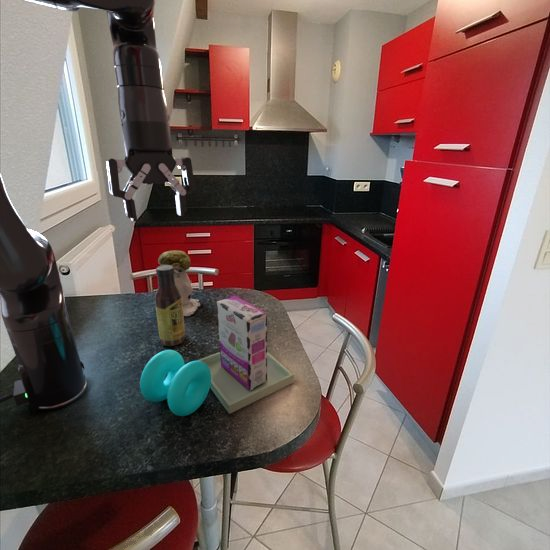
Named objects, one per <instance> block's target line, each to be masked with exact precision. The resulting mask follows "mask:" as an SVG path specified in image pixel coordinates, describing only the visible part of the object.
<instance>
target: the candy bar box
mask: <svg viewBox="0 0 550 550" xmlns="http://www.w3.org/2000/svg"><path fill="white" fill-rule="evenodd" d="M216 310H217V324H218V325H217V326H218V340H219V341H218V342H219V352H220V357H221V366H222V367H223V368H224V369H225V370H226V371H227V372H228V373H229V374H231V375H232V376H233V377H234V378H235V379H236V380H238V381H239V382H240V383H241V384H242V385H243V386H244V387H245V388H247V389H248V390H249V391H252V390H254V389H255V388H257V387H259V386H261V385H263V384H265V383H266V382H267V352H268V312H266V311H264V310H262V309H260V308H259V307H257V306H255V305H253V304H252V303H250V302H248V301H247V300H244V299H242V298H240V297H239V296H237V295H232V296H228V297H225V298H223V299H220V300H217V301H216Z"/></svg>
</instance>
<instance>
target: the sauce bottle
mask: <svg viewBox="0 0 550 550" xmlns="http://www.w3.org/2000/svg"><path fill="white" fill-rule="evenodd" d="M155 274H156V276H157V285H158V288H157V289H156V291H155V294H154V301H155V312H156V319H157V328H158V336H159V338H160V343H161V344H162V345H163V346H165V347H174V346H178V345H181V344H182V343H183V342H184V341H185V337H186V336H185V335H186V328H185V318H184V317H185V316H183V307H182V297H181V295H180V293H179V291H178V289H177V287H176V285H175V281H174V267H173V266H171V265H163V266H162V265H159V266H157V267H156V268H155Z"/></svg>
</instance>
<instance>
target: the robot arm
mask: <svg viewBox="0 0 550 550" xmlns="http://www.w3.org/2000/svg"><path fill="white" fill-rule="evenodd" d="M22 1H24V2H27V3H32V4H36V5H39V6H44V7H48V8H52V9H59V10H60V11H61V10H62V11H66V12H79V11H81V10H82V9H83V8H88V9H93V10H99V11H103V12H105V13H106V18H107V22H108V29H109V33H110V37H111V38H110V39H111V42H112V60H113V68H114V73H115V74H114V75H115V81H116V88H117V105H118V106H117V107H118V112H119V119H120V126H121V132H122V135H123V136H122V137H123V143H124V150H125V156H124V159H117V158H116V159H115V158H113V157H110V158H107V159H106V161H105V163H106V173H107V181H108V190H109V194H110V195H112V196H113V197H115V198H120V199H122V201H123V204H124V205H123V206H124V212H125V215H126V217H127V219H130V221H132V222H138V217H137V209H136V203H135V199H133V197H134V195H135V193H136V192H137V190H139V188H140V187H141V185H142V184H143V185H147V186H149V185H153V184H158V185H162V184H165V183H166V184H167V185H168V186H169V187H170V188H171V189H172V190H173V191H174V192H175V195H174V198H175V205H176V206H175V208H176V214H177V215H178V216H180V217H183V216H185V213H187V211H188V206H187V195H188V194H189V193H191V192H194V191H195V190H196V185H195V178H194V177H195V176H194V170H193V163H192V159H191V158H190V157H188V156H182V157H180V158H175V157H174V154H173V145H172V144H173V143H172V136H171V125H170V113H169V107H168V101H167V98H166V93H165V86H164V77H163V66H162V62H161V57H160V55H159V52H158V51H157V49H158V48H157V38H156V26H155V5H156V0H22ZM176 166H177V168H178V169H179V170H180V171H181V174H182V175H181V176H182V181H183V185H182V184H181V183H180V182H179V180H178V179H177V177H176V176H175V174H173V172H174V170H175V168H176ZM124 167H125V168H126V169H127V171H128V172H129V173H131V176H130V177H129V179H128V181H127V182H126V184H125V187H124V188H123V190H122V189H121V187H120V178H119V174H120V173H121V172H123V168H124ZM0 307H1V308H0V313H1V314H0V315H1V318H2V321H3V324H4V326H5V330H6V332H7V335H8V338H9V340H10V343H11V347H12V349H13V352H14V355H15V358H16V361H17V365H18V368H17V371H18V375H19V379H18V380H15V381H14V382H13V383H14V384H13V392H11V393H8V394H6V395H4V396H0V404H2V403H4V402H5V401H8V400H10V399H12V398H13V399H14V401H15V404H16V406H17V407H18V406H19V407H20V406H22V405H24V404H27V403H29V406H30V408H31V412H32V413H36V412H39V411H54V410H57V409H61V408H64V407H67V406H68V405H70V404H72V403H74V402H76V401H77V400H78V399H79V398H81V397H82V396H83V395H84V393H85V392H86V390H87V388H88V382H87V379H86V375H85V373H84V370H86V368H85V365H84V363H83V362H82V361H81V358H80V355H79V351H78V346H77V342H76V339H75V336H74V332H73V328H72V325H71V321H70V317H69V313H68V309H67V305H66V300H65V293H64V288H63V285H62V280H61V276H60V271H59V267H58V264H57V259H56V257H55V253H54V249H53V247H52V245H51V244H50V242H49V241H48V239H46V237H45V236H43V235H42V234H40V233H39V232H37V231H34V230H32V229H28V228H27V226H26V225H25V223H24V222H23V219H22V218H21V217H20V216H19V214H18V212H17V210H16V209H15V207H14V206H13V203H12V202H11V200H10V198H9V196H8V193H7V191H6V187H5V184H4V181H3V178H2V175H1V173H0Z"/></svg>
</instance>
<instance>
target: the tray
mask: <svg viewBox="0 0 550 550" xmlns="http://www.w3.org/2000/svg"><path fill="white" fill-rule="evenodd" d="M196 361H202V362H204V363H205V364H207V366H208V367H209V369H210V372H211V386H210V390H211V391H212V393H213V395H215V396H216V398H217V399H218V401H219V402H220V404H221V405H222V406H223V408H224V409H225V410H226V412H227V413H228V414H229V415H230V414H232V413H234V412H237V411H239V410H241V409H242V408H245V407H246V406H249V405H250V404H253V403H255V402H257V401H259V400H260V399H263V398H265V397H267V396H269V395H271V394H273V393H275V392H278V391H279V390H281V389H284V388H285V387H287V386H289V385H291V384H293V383H294V382H295V381H294V377H295V375H294V374H293V373H292V372H291V371H290V370H289V369H288V368H287V367H285V366H284V364H282V363H281V362H280V361H279V360H278V359H276V357H274V356H273V355H272V354H271V353H270V352H268V351H267V382H266V383H265V384H263V385H261V386H259V387H257V388H255V389H254V390H252V391H249V390H248V389H247V388H245V387H244V386H243V385H242V384H241V383H240V382H239V381H238V380H236V379H235V378H234V377H233V376H232V375H231V374H229V373H228V372H227V371H226V370H225V369H224V368H223V367H222V366H221V357H220V351H219V352H216V353H213V354H211V355H208V356H205V357H202V358H200V359H197V360H196Z"/></svg>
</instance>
